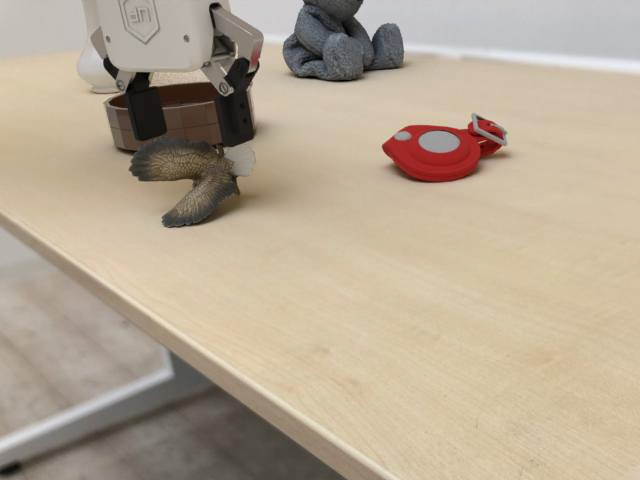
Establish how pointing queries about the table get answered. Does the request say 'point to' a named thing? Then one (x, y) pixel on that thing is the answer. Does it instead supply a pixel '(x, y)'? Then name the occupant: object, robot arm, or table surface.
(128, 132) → the bowl
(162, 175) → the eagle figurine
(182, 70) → the robot arm
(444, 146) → the tracker holder
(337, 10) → the koala plush
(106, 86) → the flower vase
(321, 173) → the table surface
